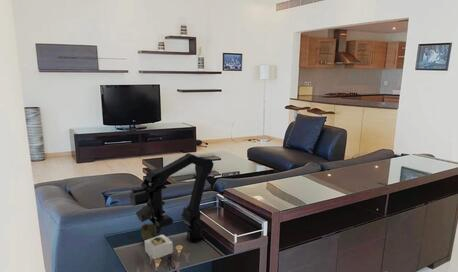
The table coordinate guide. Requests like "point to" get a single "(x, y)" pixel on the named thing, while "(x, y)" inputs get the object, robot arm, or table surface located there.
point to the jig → (158, 247)
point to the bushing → (158, 241)
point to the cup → (148, 231)
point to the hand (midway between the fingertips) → (157, 233)
